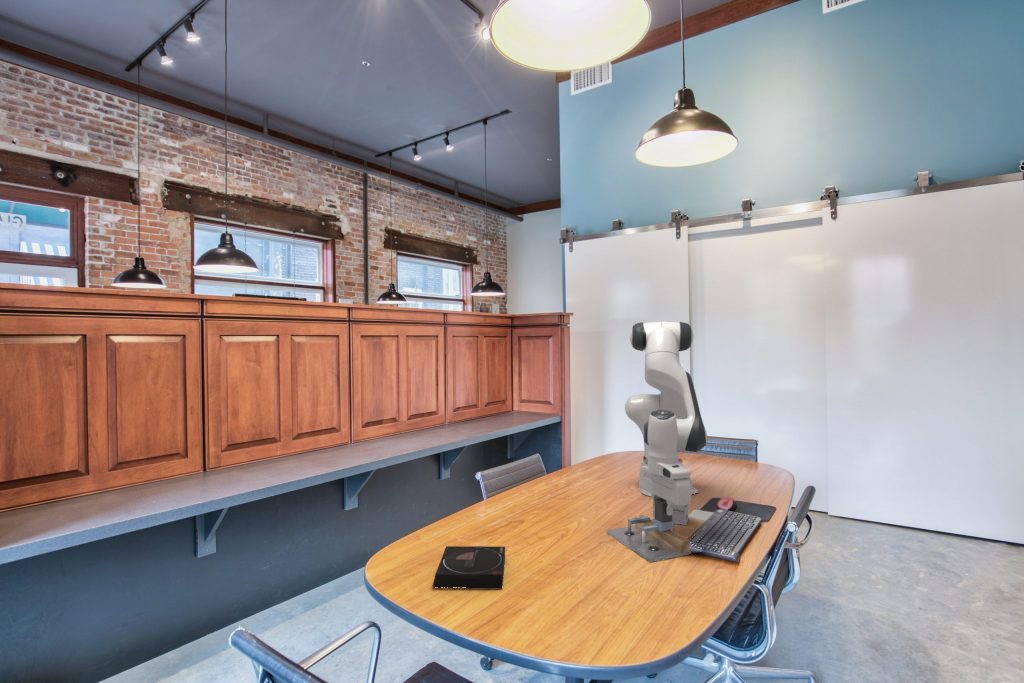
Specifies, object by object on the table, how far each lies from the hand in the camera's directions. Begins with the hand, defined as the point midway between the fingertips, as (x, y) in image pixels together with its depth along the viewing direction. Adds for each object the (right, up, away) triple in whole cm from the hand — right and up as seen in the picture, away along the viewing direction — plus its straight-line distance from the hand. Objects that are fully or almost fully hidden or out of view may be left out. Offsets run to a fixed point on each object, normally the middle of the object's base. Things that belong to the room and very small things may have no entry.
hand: (663, 511), depth 147 cm
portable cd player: (-56, -10, -19) cm, 60 cm away
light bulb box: (+8, -9, +18) cm, 22 cm away
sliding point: (-2, -8, -1) cm, 8 cm away
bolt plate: (-3, -9, 0) cm, 10 cm away
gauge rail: (-3, -8, 0) cm, 9 cm away
